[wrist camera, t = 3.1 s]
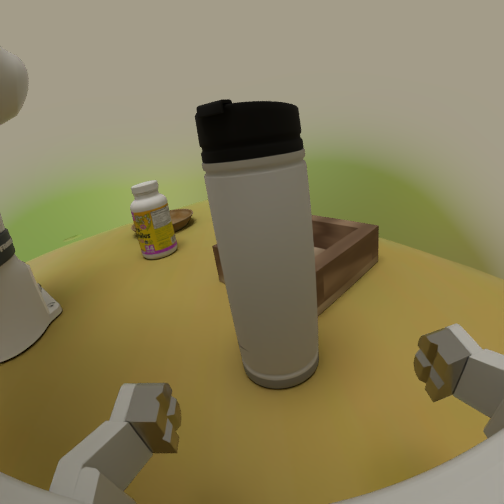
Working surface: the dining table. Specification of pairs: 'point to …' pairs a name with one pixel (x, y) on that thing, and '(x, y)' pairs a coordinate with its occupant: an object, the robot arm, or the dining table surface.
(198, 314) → the dining table surface
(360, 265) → the square wooden tray
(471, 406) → the robot arm
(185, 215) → the plant saucer
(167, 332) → the dining table surface
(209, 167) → the travel mug
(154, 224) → the supplement bottle
